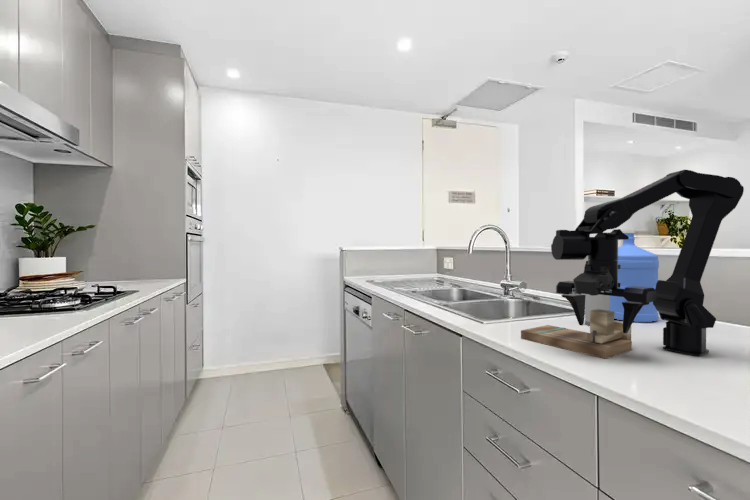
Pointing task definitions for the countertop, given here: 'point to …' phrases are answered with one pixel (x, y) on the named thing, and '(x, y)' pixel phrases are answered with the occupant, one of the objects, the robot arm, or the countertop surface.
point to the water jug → (635, 277)
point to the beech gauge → (606, 327)
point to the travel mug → (595, 304)
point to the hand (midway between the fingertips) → (602, 329)
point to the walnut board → (575, 341)
